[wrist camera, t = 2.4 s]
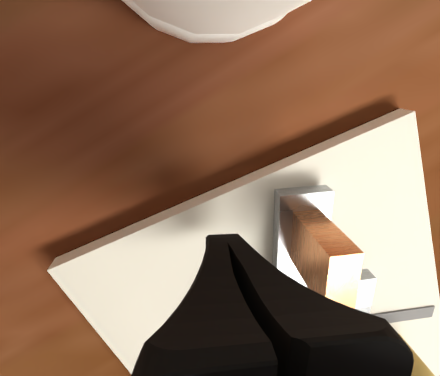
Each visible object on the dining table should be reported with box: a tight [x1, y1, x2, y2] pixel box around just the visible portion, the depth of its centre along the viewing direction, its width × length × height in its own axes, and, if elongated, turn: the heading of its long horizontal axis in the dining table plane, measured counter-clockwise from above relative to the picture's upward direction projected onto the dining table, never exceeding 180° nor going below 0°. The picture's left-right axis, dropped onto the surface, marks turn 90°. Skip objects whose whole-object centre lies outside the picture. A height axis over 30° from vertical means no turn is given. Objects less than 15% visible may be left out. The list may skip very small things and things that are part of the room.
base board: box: [47, 109, 440, 376], centre depth 16 cm, size 19×18×5 cm
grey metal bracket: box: [272, 185, 377, 314], centre depth 14 cm, size 13×8×4 cm, turn 2°
